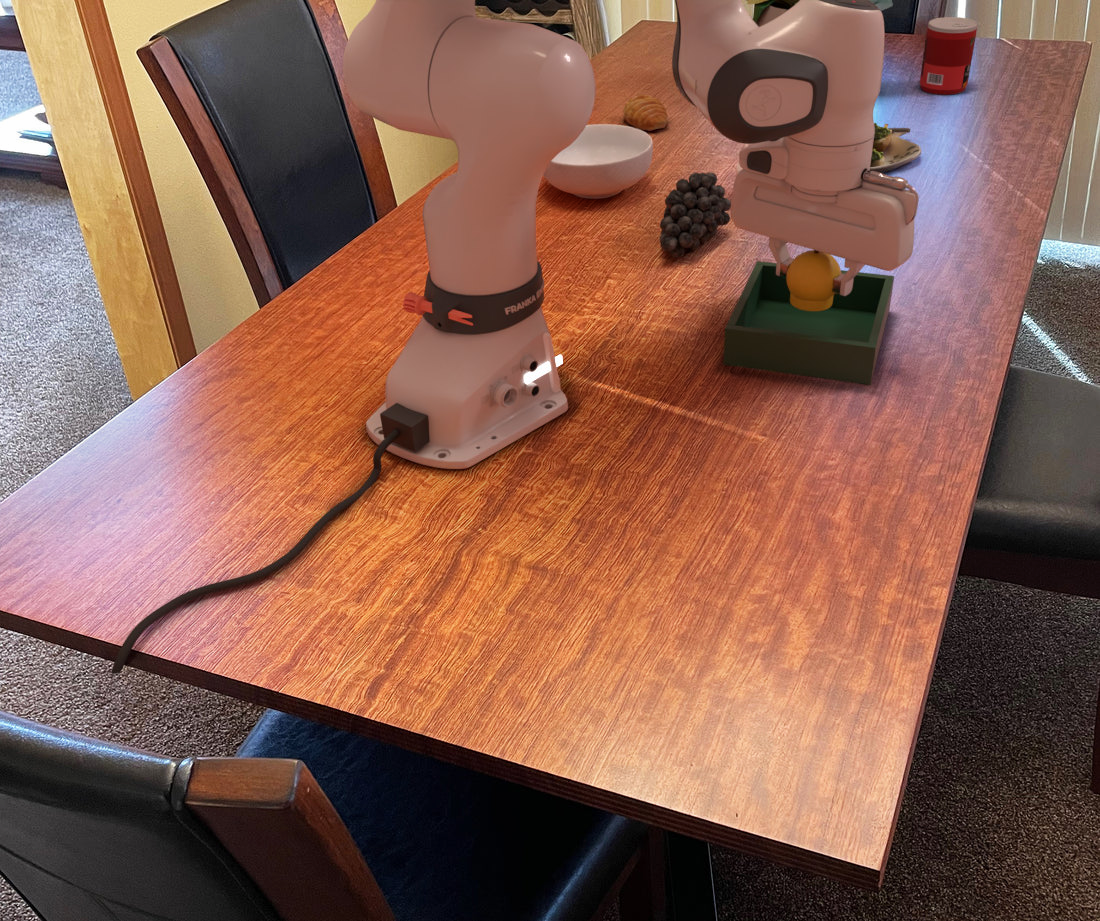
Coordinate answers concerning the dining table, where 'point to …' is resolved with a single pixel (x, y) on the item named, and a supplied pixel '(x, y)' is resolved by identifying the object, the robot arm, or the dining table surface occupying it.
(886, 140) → the salad plate
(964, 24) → the canned food
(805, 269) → the orange
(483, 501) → the dining table surface
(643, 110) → the pastry
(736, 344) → the crate
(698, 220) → the fruit
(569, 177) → the cereal bowl
